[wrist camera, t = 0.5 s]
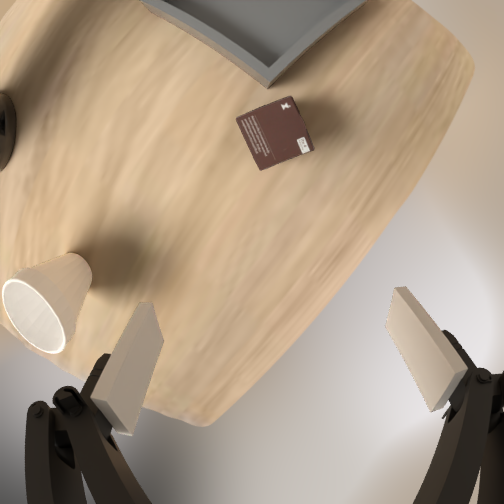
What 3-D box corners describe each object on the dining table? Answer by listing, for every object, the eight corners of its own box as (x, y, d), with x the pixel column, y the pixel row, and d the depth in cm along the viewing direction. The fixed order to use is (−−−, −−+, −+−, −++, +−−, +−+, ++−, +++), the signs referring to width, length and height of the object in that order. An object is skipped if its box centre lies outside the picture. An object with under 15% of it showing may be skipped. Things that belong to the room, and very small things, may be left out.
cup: (40, 244, 37) (-10, 283, 24) (89, 229, 36) (36, 272, 24) (67, 304, 42) (29, 352, 29) (117, 299, 41) (81, 355, 29)
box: (237, 120, 31) (233, 116, 24) (283, 102, 30) (292, 94, 23) (257, 164, 33) (259, 172, 26) (302, 146, 32) (315, 150, 25)
